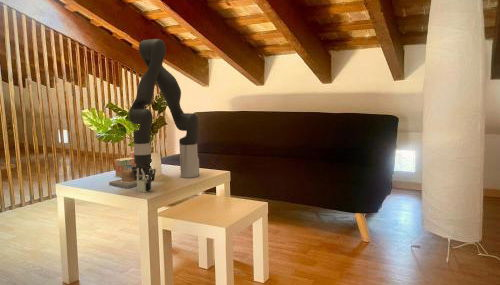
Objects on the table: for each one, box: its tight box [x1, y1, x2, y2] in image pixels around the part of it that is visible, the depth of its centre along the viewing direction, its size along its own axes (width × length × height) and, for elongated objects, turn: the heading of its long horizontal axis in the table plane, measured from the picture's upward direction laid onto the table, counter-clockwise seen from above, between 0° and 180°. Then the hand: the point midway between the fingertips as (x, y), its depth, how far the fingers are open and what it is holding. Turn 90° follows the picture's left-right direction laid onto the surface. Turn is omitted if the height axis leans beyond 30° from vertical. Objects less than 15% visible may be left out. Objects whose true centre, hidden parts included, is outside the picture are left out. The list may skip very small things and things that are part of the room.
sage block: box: [136, 178, 153, 193], centre depth 179 cm, size 4×4×5 cm
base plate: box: [108, 178, 137, 190], centre depth 192 cm, size 14×14×2 cm
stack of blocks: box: [114, 150, 136, 179], centre depth 215 cm, size 21×6×12 cm, turn 141°
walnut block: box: [121, 169, 137, 183], centre depth 192 cm, size 6×6×5 cm
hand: (144, 189), depth 179 cm, fingers closed on sage block, 4 cm apart
